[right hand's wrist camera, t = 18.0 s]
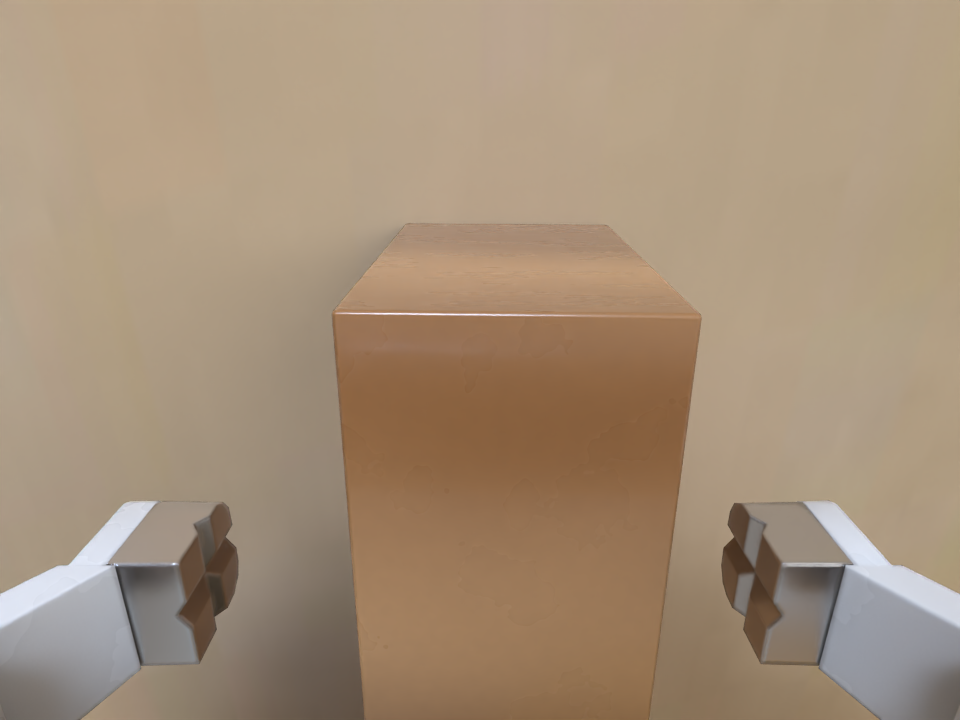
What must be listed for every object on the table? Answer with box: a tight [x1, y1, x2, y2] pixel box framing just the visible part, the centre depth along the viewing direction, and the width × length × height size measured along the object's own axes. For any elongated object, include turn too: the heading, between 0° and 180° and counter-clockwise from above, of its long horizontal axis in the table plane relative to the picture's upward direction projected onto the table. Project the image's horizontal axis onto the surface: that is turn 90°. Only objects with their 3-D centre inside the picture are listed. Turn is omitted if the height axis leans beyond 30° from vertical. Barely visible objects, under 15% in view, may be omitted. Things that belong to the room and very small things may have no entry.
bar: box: [332, 224, 702, 720], centre depth 16 cm, size 23×5×8 cm, turn 0°
